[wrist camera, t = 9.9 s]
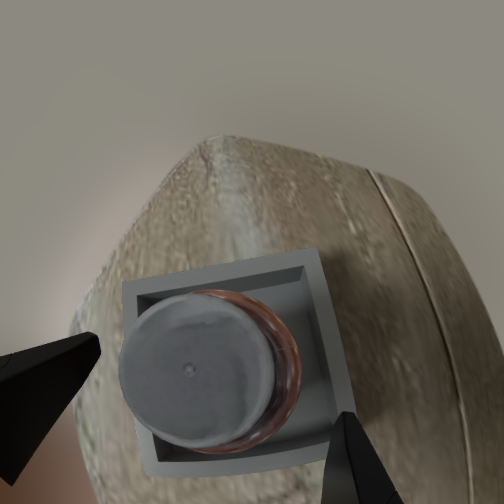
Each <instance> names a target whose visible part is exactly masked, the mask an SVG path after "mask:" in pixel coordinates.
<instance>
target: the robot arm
mask: <svg viewBox="0 0 504 504" xmlns="http://www.w3.org/2000/svg"><path fill="white" fill-rule="evenodd" d="M100 355H101V348H100V343H99V338H98V336H97V335H96V334H94V333H92V332H85V333H81V334H78V335H75V336H71V337H68V338H65V339H61V340H58V341H54V342H51V343H47V344H44V345H41V346H37V347H33V348H30V349H26V350H23V351H19V352H15V353H13V354H12V353H11V354H8V355H4V356H0V477H1V478H2V479H3V480H4V481H5V482H6V483H8V484H9V485H10V486H13V485H14V483H15V482H16V480H17V479H18V477H19V475H20V474H21V472H22V471H23V469H24V468H25V466H26V465H27V463H28V461H29V460H30V459H31V457H32V456H33V454H34V452H35V451H36V450H37V448H38V446H39V445H40V444H41V442H42V441H43V439H44V438H45V436H46V435H47V434H48V432H49V431H50V429H51V428H52V426H53V425H54V424H55V422H56V421H57V419H58V418H59V417H60V415H61V414H62V412H63V411H64V410H65V408H66V407H67V405H68V404H69V403H70V402H71V400H72V399H73V398H74V396H75V395H76V394H77V392H78V391H79V390H80V388H81V387H82V385H83V384H84V382H85V381H86V379H87V377H88V376H89V374H90V372H91V371H92V369H93V367H94V366H95V364H96V362H97V361H98V359H99V358H100ZM321 504H404V503H403V501H402V500H401V498H400V496H399V494H398V492H397V491H396V490H395V487H394V485H393V483H392V481H391V479H390V477H389V475H388V474H387V472H386V470H385V468H384V466H383V464H382V463H381V461H380V459H379V457H378V455H377V453H376V451H375V450H374V448H373V446H372V444H371V442H370V440H369V439H368V437H367V435H366V433H365V431H364V429H363V428H362V426H361V424H360V422H359V420H358V418H357V417H356V415H355V413H353V412H348V411H342V412H341V413H340V415H339V417H338V418H337V420H336V422H335V423H334V425H333V428H332V432H331V437H330V443H329V448H328V453H327V458H326V463H325V468H324V478H323V488H322V498H321Z"/></svg>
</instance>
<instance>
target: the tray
mask: <svg viewBox="0 0 504 504" xmlns="http://www.w3.org/2000/svg"><path fill="white" fill-rule="evenodd" d="M207 289H220V290H230V291H235V292H239V293H242V294H245V295H248V296H250V297H252V298H254V299H256V300H258V301H260V302H261V303H263V304H264V305H266V306H267V307H269V308H270V309H271V310H272V311H274V312H275V313H276V314H277V315H278V316H279V317H280V318H281V320H282V321H283V322H284V323H285V325H286V326H287V327H288V329H289V330H290V332H291V334H292V335H293V337H294V340H295V342H296V344H297V347H298V350H299V353H300V357H301V364H302V383H301V390H300V394H299V398H298V401H297V403H296V406H295V408H294V410H293V412H292V413H291V415H290V416H289V418H288V420H287V421H286V422H285V424H284V425H283V426H282V427H281V428H280V429H279V430H278V431H277V432H276V433H275V434H273V435H272V436H271V437H270V438H268V439H267V440H266V441H264V442H263V443H261V444H259V445H256V446H255V447H253V448H250V449H247V450H244V451H241V452H237V453H231V454H205V453H201V452H195V451H193V450H190V449H187V448H184V447H182V446H178V445H175V444H172V443H169V442H167V441H165V440H163V439H161V438H160V437H158V436H156V435H155V434H153V433H152V432H151V431H149V430H148V429H147V428H146V427H144V426H143V425H142V424H141V423H140V422H139V421H138V419H137V418H136V417H135V416H134V414H133V418H134V424H135V429H136V435H137V440H138V445H139V449H140V454H141V458H142V463H143V467H144V471H145V475H146V476H151V477H215V476H229V475H240V474H249V473H257V472H264V471H270V470H277V469H282V468H288V467H293V466H298V465H302V464H307V463H311V462H315V461H320V460H323V459H326V458H327V453H328V448H329V443H330V437H331V432H332V428H333V425H334V423H335V422H336V420H337V418H338V417H339V415H340V413H341V412H342V411H348V412H353V413H355V415H356V417H357V418H358V416H357V411H356V406H355V401H354V396H353V391H352V386H351V381H350V376H349V371H348V367H347V362H346V358H345V354H344V349H343V345H342V341H341V336H340V332H339V328H338V324H337V320H336V316H335V312H334V308H333V305H332V301H331V297H330V293H329V289H328V286H327V282H326V278H325V275H324V271H323V268H322V264H321V261H320V257H319V254H318V251H317V247H311V248H306V249H300V250H295V251H290V252H285V253H279V254H274V255H269V256H263V257H258V258H252V259H247V260H242V261H236V262H231V263H225V264H220V265H215V266H209V267H204V268H198V269H193V270H187V271H182V272H176V273H171V274H165V275H160V276H154V277H148V278H143V279H137V280H132V281H126V282H122V300H123V326H124V338H125V336H126V334H127V333H128V331H129V329H130V328H131V326H132V324H133V323H134V322H135V321H136V320H137V319H138V317H140V316H141V314H142V313H143V312H144V311H146V310H147V309H149V308H150V307H151V306H153V305H155V304H156V303H158V302H160V301H162V300H164V299H167V298H170V297H172V296H176V295H181V294H187V293H190V292H195V291H199V290H207Z"/></svg>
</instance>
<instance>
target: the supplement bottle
mask: <svg viewBox="0 0 504 504" xmlns="http://www.w3.org/2000/svg"><path fill="white" fill-rule="evenodd" d="M119 380H120V385H121V389H122V392H123V395H124V398H125V400H126V402H127V404H128V406H129V408H130V409H131V411H132V413H133V414H134V416H135V417H136V418H137V419H138V421H139V422H140V423H141V424H142V425H143V426H144V427H146V428H147V429H148V430H149V431H151V432H152V433H153V434H155V435H156V436H158V437H160V438H161V439H163V440H165V441H167V442H169V443H172V444H175V445H178V446H182V447H184V448H187V449H190V450H193V451H195V452H201V453H205V454H231V453H237V452H241V451H244V450H247V449H250V448H253V447H255V446H256V445H259V444H261V443H263V442H264V441H266V440H267V439H268V438H270V437H271V436H272V435H273V434H275V433H276V432H277V431H278V430H279V429H280V428H281V427H282V426H283V425H284V424H285V422H286V421H287V420H288V418H289V416H290V415H291V413H292V412H293V410H294V408H295V406H296V403H297V401H298V398H299V394H300V390H301V383H302V364H301V357H300V353H299V350H298V347H297V344H296V342H295V340H294V337H293V335H292V334H291V332H290V330H289V329H288V327H287V326H286V325H285V323H284V322H283V321H282V320H281V318H280V317H279V316H278V315H277V314H276V313H275V312H274V311H272V310H271V309H270V308H269V307H267V306H266V305H264V304H263V303H261V302H260V301H258V300H256V299H254V298H252V297H250V296H248V295H245V294H242V293H239V292H235V291H230V290H220V289H207V290H199V291H195V292H190V293H187V294H181V295H176V296H172V297H170V298H167V299H164V300H162V301H160V302H158V303H156V304H155V305H153V306H151V307H150V308H149V309H147V310H146V311H144V312H143V313H142V314H141V316H140V317H138V319H137V320H136V321H135V322H134V323H133V324H132V326H131V328H130V329H129V331H128V333H127V334H126V336H125V338H124V341H123V344H122V348H121V352H120V356H119Z"/></svg>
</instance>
